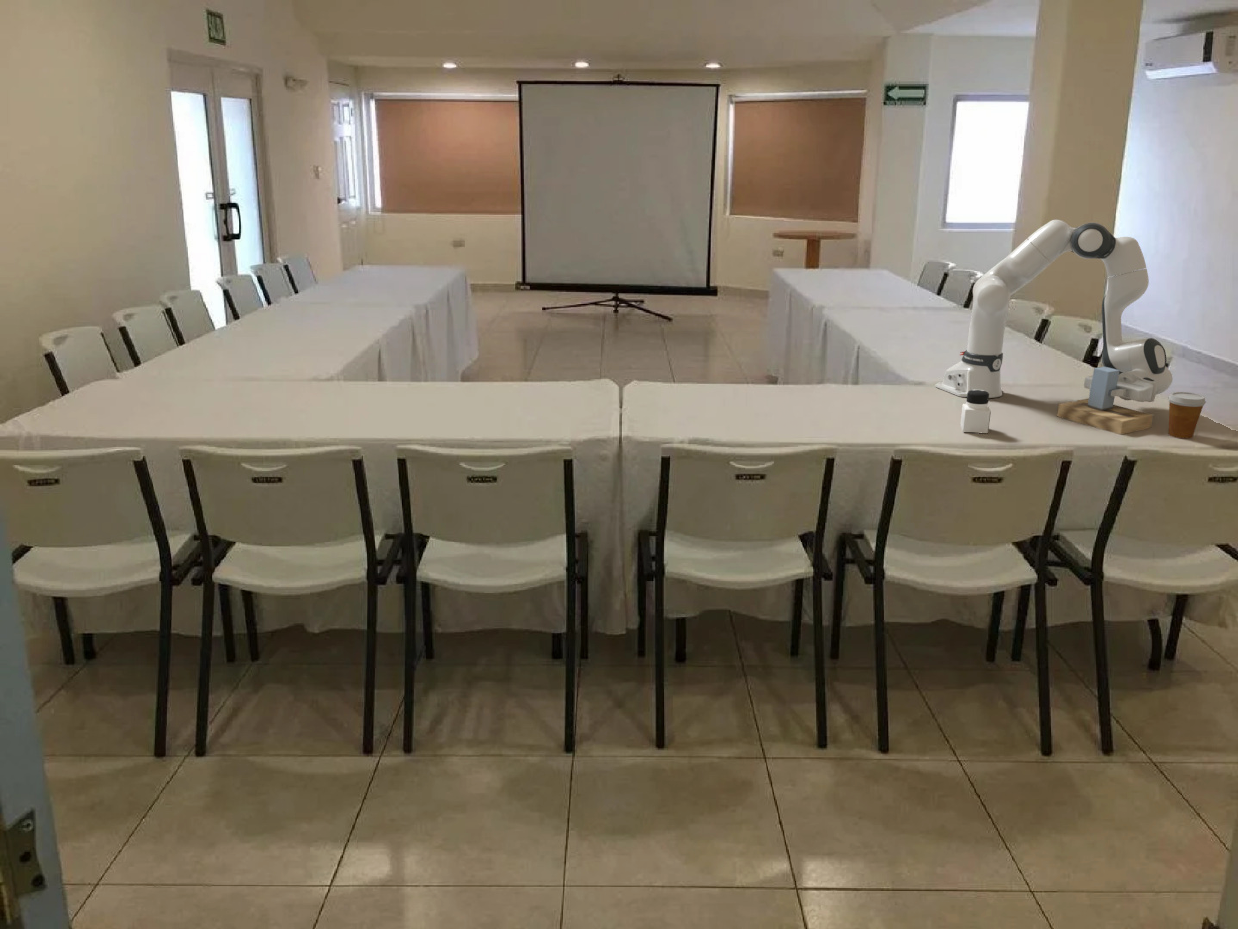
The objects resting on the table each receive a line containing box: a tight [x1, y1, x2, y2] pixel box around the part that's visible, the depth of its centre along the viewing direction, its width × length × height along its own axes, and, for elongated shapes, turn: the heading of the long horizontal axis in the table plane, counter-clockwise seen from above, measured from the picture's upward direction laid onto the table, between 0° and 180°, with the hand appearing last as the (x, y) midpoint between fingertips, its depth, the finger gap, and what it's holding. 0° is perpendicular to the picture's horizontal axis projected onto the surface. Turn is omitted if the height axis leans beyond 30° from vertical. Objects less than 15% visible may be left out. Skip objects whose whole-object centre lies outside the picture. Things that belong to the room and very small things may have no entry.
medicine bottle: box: [959, 390, 991, 434], centre depth 298 cm, size 7×7×12 cm
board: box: [1056, 397, 1154, 435], centre depth 307 cm, size 22×14×4 cm, turn 29°
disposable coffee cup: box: [1167, 391, 1207, 439], centre depth 293 cm, size 10×10×12 cm
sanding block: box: [1087, 366, 1120, 411], centre depth 306 cm, size 5×5×12 cm
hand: (1101, 390), depth 306 cm, fingers closed on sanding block, 5 cm apart
